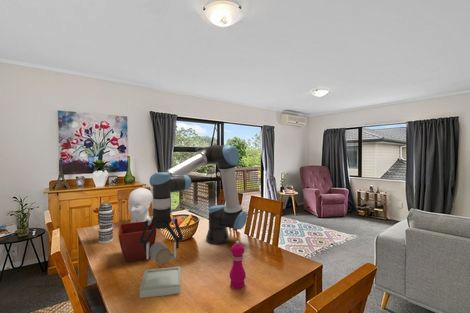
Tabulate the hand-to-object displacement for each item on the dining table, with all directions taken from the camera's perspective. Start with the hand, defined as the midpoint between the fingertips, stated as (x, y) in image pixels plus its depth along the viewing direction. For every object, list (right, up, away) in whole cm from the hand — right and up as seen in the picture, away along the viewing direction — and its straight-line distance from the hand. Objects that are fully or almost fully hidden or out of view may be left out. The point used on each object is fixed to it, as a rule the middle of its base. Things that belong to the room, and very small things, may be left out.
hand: (161, 256), depth 106 cm
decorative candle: (-54, -12, +53) cm, 76 cm away
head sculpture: (-45, -11, +88) cm, 99 cm away
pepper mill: (+34, -13, +1) cm, 36 cm away
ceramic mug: (0, -2, +1) cm, 2 cm away
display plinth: (0, -13, 0) cm, 13 cm away
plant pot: (-23, -12, +30) cm, 40 cm away
